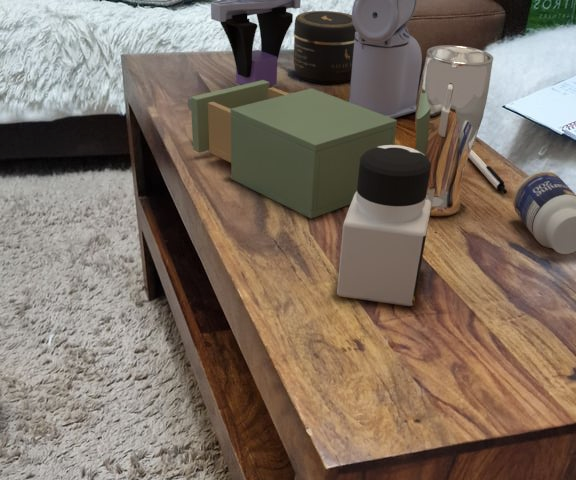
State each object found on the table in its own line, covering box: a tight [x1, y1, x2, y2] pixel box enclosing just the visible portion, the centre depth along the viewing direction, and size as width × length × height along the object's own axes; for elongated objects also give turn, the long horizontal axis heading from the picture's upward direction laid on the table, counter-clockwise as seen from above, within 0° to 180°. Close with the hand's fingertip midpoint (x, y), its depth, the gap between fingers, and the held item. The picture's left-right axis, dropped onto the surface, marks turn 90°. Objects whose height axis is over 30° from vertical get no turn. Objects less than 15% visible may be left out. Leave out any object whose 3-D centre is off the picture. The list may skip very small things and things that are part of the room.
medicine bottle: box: [336, 144, 431, 307], centre depth 69 cm, size 7×7×12 cm
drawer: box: [186, 80, 290, 164], centre depth 92 cm, size 17×11×6 cm
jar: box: [293, 10, 356, 85], centre depth 116 cm, size 10×10×8 cm
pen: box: [468, 148, 508, 194], centre depth 95 cm, size 1×19×1 cm, turn 10°
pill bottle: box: [513, 170, 576, 255], centre depth 79 cm, size 5×5×10 cm
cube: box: [235, 49, 278, 87], centre depth 110 cm, size 4×4×4 cm
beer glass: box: [414, 44, 494, 217], centre depth 81 cm, size 7×7×15 cm
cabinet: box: [230, 87, 398, 220], centre depth 86 cm, size 13×12×8 cm
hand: (256, 72), depth 110 cm, fingers closed on cube, 4 cm apart
